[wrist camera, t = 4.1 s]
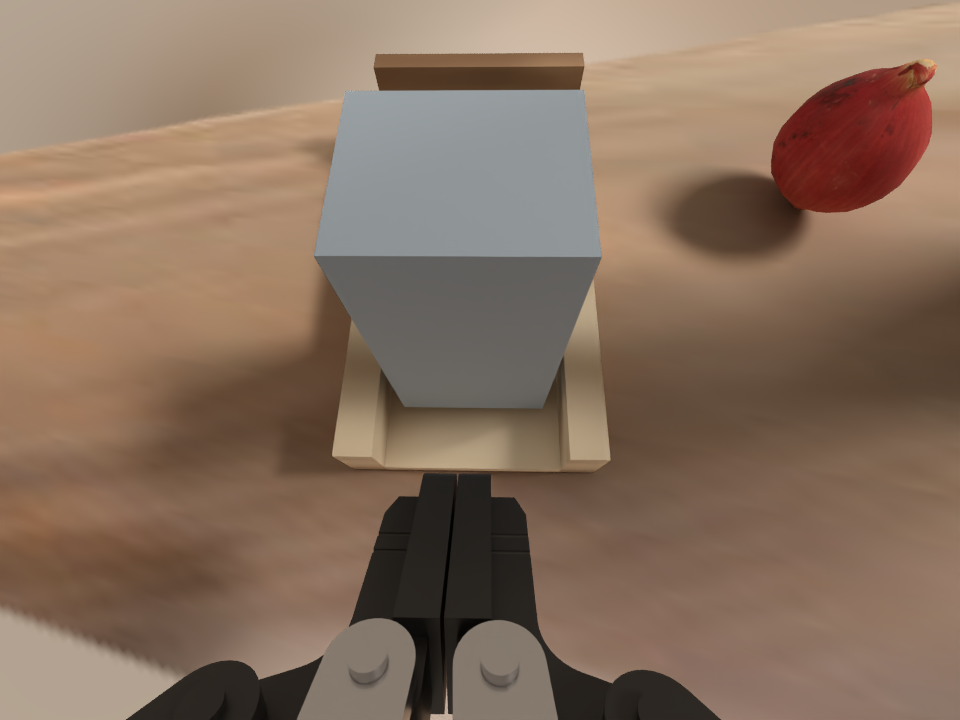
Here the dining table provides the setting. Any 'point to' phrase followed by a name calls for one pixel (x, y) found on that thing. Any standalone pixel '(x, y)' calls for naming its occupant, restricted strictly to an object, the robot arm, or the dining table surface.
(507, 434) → the wooden tray frame
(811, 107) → the pomegranate
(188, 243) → the dining table surface
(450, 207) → the block
